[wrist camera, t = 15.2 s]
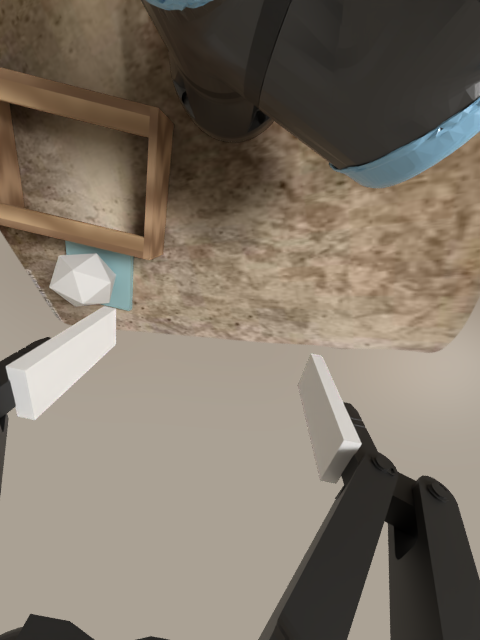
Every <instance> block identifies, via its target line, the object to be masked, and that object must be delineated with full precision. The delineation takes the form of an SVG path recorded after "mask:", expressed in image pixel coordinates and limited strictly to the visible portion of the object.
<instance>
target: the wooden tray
mask: <svg viewBox="0 0 480 640" xmlns="http://www.w3.org/2000/svg"><path fill="white" fill-rule="evenodd" d="M9 103H12V104H16V105H20V106H24V107H28V108H32V109H36V110H40V111H44V112H48V113H52V114H56V115H60V116H64V117H68V118H72V119H76V120H80V121H84V122H88V123H92V124H96V125H100V126H103V127H107V128H111V129H115V130H119V131H123V132H127V133H131V134H135V135H139V136H143V137H147V138H149V143H148V164H147V185H146V206H145V227H144V237H143V236H139V235H135V234H130V233H126V232H122V231H118V230H114V229H109V228H105V227H101V226H97V225H93V224H88V223H84V222H80V221H76V220H72V219H68V218H63V217H59V216H55V215H51V214H47V213H42V212H38V211H34V210H30V209H26V208H25V205H24V198H23V192H22V185H21V178H20V171H19V165H18V158H17V151H16V144H15V138H14V131H13V124H12V117H11V111H10V104H9ZM173 127H174V124H173V123H172V122H171V120H170V119H169V118H168V117H167V116H166V115H165V114H164V113H163V112H162V111H161V110H160V109H159V108H157V107H153V106H149V105H145V104H141V103H138V102H134V101H130V100H126V99H122V98H118V97H114V96H110V95H106V94H102V93H99V92H95V91H91V90H87V89H83V88H79V87H75V86H71V85H67V84H63V83H60V82H56V81H52V80H48V79H44V78H40V77H36V76H32V75H28V74H24V73H21V72H17V71H13V70H9V69H5V68H1V67H0V225H2V226H7V227H11V228H15V229H19V230H24V231H28V232H32V233H36V234H41V235H45V236H49V237H53V238H58V239H62V240H66V241H70V242H75V243H79V244H83V245H87V246H91V247H96V248H100V249H104V250H108V251H113V252H117V253H121V254H125V255H130V256H134V257H138V258H142V259H147V260H151V259H154V258H156V257H158V256H160V255H163V249H164V237H165V224H166V212H167V200H168V188H169V176H170V164H171V151H172V139H173Z"/></svg>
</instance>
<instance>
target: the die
mask: <svg viewBox="0 0 480 640" xmlns="http://www.w3.org/2000/svg"><path fill="white" fill-rule="evenodd" d="M115 278H116V274H115V273H114V272H113V271H112V270H111V269H110V268H109V267H108V265H107V264H106V263H105V262H104V261H103V260H102V259H101V258H100V257H99V255H98V254H97V253H95V254H76V255H59V257H58V260H57V263H56V267H55V270H54V273H53V277H52V280H51V283H50V287H49V288H51V289H52V290H53V291H55V292H56V293H58V294H59V295H60V296H62V297H63V298H64V299H66V300H67V301H68V302H70V303H71V304H73V305H74V306H85V305H95V304H104V303H109V302H110V298H111V294H112V290H113V286H114V282H115Z"/></svg>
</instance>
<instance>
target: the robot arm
mask: <svg viewBox="0 0 480 640" xmlns="http://www.w3.org/2000/svg"><path fill="white" fill-rule="evenodd" d="M141 1H142V3H143V5H144V7H145V9H146V10H147V12H148V14H149V16H150V18H151V19H152V21H153V23H154V25H155V27H156V28H157V30H158V32H159V34H160V35H161V37H162V39H163V41H164V43H165V44H166V46H167V48H168V50H169V62H170V70H171V75H172V79H173V83H174V86H175V89H176V92H177V95H178V97H179V99H180V101H181V103H182V105H183V107H184V109H185V110H186V112H187V113H188V114H189V116H190V117H191V119H192V120H193V121H194V123H195V124H196V125H197V126H198V127H199V128H200V129H201V130H203V131H204V132H205V133H206V134H208V135H210V136H211V137H213V138H215V139H218V140H221V141H225V142H241V141H246V140H249V139H251V138H254V137H256V136H257V135H259V134H261V133H262V132H263V131H265V130H266V129H267V128H268V127H269V126H270V125H271V124H272V123H273V122H274V121H275V122H277V123H278V124H279V125H280V126H282V127H283V128H284V129H286V130H287V131H288V132H290V133H291V134H292V135H294V136H295V137H296V138H298V139H299V140H300V141H302V142H303V143H304V144H306V145H307V146H308V147H310V148H311V149H312V150H314V151H315V152H316V153H318V154H319V155H320V156H322V157H323V158H324V159H326V160H327V161H328V162H329V165H330V167H331V168H332V169H333V170H334V171H336V172H340V173H344V174H346V175H347V176H348V177H350V178H351V179H353V180H354V181H356V182H357V183H359V184H360V185H362V186H365V187H371V188H385V187H389V186H393V185H396V184H399V183H401V182H404V181H406V180H408V179H410V178H412V177H414V176H416V175H418V174H420V173H421V172H423V171H425V170H427V169H428V168H430V167H432V166H433V165H435V164H436V163H438V162H439V161H441V160H442V159H444V158H445V157H447V156H448V155H450V154H451V153H453V152H454V151H455V150H457V149H458V148H459V147H461V146H462V145H463V144H465V143H466V142H467V141H468V140H470V139H471V138H472V137H473V136H475V135H476V134H477V133H478V132H479V131H480V0H141ZM115 345H116V309H115V308H111V307H106V306H104V307H102V308H100V309H99V310H97V311H95V312H94V313H92V314H90V315H89V316H87V317H86V318H84V319H82V320H81V321H79V322H77V323H76V324H74V325H72V326H71V327H69V328H68V329H66V330H64V331H63V332H61V333H59V334H58V335H56V336H54V337H53V338H49V337H46V338H44V339H40V340H38V341H35V342H33V343H31V344H30V345H28V346H26V348H23V349H21V350H19V351H18V352H16V353H14V354H12V355H11V356H9V357H7V358H5V359H4V360H2V361H0V493H1V483H2V474H3V465H4V455H5V446H6V437H7V427H8V415H7V413H8V412H9V411H10V410H12V409H13V408H14V407H15V408H16V412H17V416H18V417H23V418H28V419H33V420H35V419H37V418H38V417H39V416H40V415H41V414H42V413H43V412H44V411H45V410H46V409H47V408H48V407H49V406H51V405H52V404H53V403H54V402H55V401H56V400H57V399H58V398H59V397H60V396H61V395H62V394H63V393H64V392H66V391H67V390H68V389H69V388H70V387H71V386H72V385H73V384H74V383H75V382H76V381H77V380H78V379H79V378H80V377H82V376H83V375H84V374H85V373H86V372H87V371H88V370H89V369H90V368H91V367H92V366H93V365H94V364H95V363H96V362H98V361H99V360H100V359H101V358H102V357H103V356H104V355H105V354H106V353H107V352H108V351H109V350H110V349H111V348H113V347H114V346H115ZM298 388H299V393H300V397H301V401H302V405H303V409H304V413H305V418H306V422H307V427H308V431H309V435H310V439H311V444H312V448H313V452H314V456H315V460H316V465H317V469H318V473H319V478H320V480H321V481H326V482H331V483H337V482H338V480H339V478H340V477H341V476H342V479H343V482H344V486H343V487H342V489H341V490H340V492H339V493H338V495H337V497H336V498H335V499H336V500H335V502H334V503H333V505H332V507H331V509H330V511H329V513H328V514H327V516H326V518H325V520H324V522H323V523H322V525H321V527H320V529H319V531H318V532H317V534H316V536H315V538H314V540H313V541H312V543H311V545H310V547H309V549H308V551H307V552H306V554H305V556H304V558H303V560H302V561H301V563H300V565H299V567H298V569H297V570H296V572H295V575H294V576H293V578H292V580H291V581H290V583H289V585H288V587H287V589H286V591H285V592H284V594H283V596H282V598H281V599H280V601H279V603H278V605H277V607H276V608H275V610H274V612H273V614H272V616H271V618H270V619H269V621H268V623H267V625H266V627H265V628H264V630H263V632H262V634H261V636H260V638H259V639H258V640H347V637H348V634H349V631H350V628H351V625H352V622H353V618H354V615H355V612H356V609H357V606H358V603H359V600H360V597H361V593H362V590H363V587H364V584H365V580H366V577H367V574H368V571H369V568H370V565H371V562H372V558H373V556H374V552H375V549H376V546H377V543H378V540H379V537H380V533H381V530H382V527H383V524H384V521H385V522H387V523H388V542H389V543H388V545H389V590H390V634H391V640H480V580H479V576H478V573H477V569H476V566H475V563H474V559H473V556H472V552H471V549H470V545H469V542H468V538H467V535H466V531H465V528H464V525H463V521H462V518H461V514H460V511H459V507H458V504H457V502H456V500H455V498H454V496H453V495H452V494H451V493H450V491H449V490H448V489H447V488H446V487H445V486H444V485H442V484H441V483H440V482H438V481H437V480H435V479H433V478H431V477H429V476H421V477H420V478H419V479H418V480H417V481H415V480H413V479H411V478H409V477H407V476H405V475H403V474H401V473H399V472H397V470H396V467H395V466H394V465H393V463H392V462H391V461H390V460H389V459H388V458H387V457H386V456H384V455H382V454H381V453H379V452H378V451H377V449H376V447H375V445H374V443H373V441H372V439H371V437H370V435H369V433H368V431H367V429H366V428H365V425H364V423H363V422H362V419H361V417H360V416H359V413H358V412H357V410H356V409H355V408H354V407H353V406H352V405H351V404H349V403H344V402H343V401H342V399H341V397H340V395H339V392H338V390H337V388H336V386H335V384H334V382H333V379H332V377H331V375H330V372H329V370H328V368H327V366H326V364H325V361H324V359H323V358H322V356H321V355H316V354H312V353H311V354H310V357H309V359H308V362H307V364H306V367H305V369H304V371H303V374H302V376H301V379H300V381H299V383H298ZM0 640H94V639H93V638H91V637H90V636H89V635H87V634H86V633H85V632H83V631H82V630H81V629H79V628H78V627H77V626H75V625H74V624H73V623H71V622H70V621H66V620H60V619H55V618H49V617H44V616H38V615H33V614H30V616H29V617H28V619H27V621H26V623H25V624H24V626H23V627H20V628H17V629H14V630H11V631H8V632H6V633H4V634H2V635H0ZM137 640H168V639H163V638H157V637H152V636H151V637H146V638H142V639H137Z"/></svg>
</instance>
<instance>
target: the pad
mask: <svg viewBox="0 0 480 640" xmlns="http://www.w3.org/2000/svg"><path fill="white" fill-rule="evenodd" d="M65 244H66V255H76V254H95V253H97V254H98V255H99V257H100V258H101V259H102V260H103V261H104V262H105V263H106V264H107V265H108V267H109V268H110V269H111V270H112V271H113V272H114V273H115V274H116V278H115V282H114V286H113V290H112V294H111V298H110V302H109V303H104V304H101V305H106V306H110V307H115V308H119V309H123V310H128V311H130V310H131V309H132V293H133V260H134V256H130V255H125V254H121V253H117V252H113V251H108V250H104V249H100V248H96V247H91V246H87V245H83V244H79V243H75V242H70V241H66V240H65Z"/></svg>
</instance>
